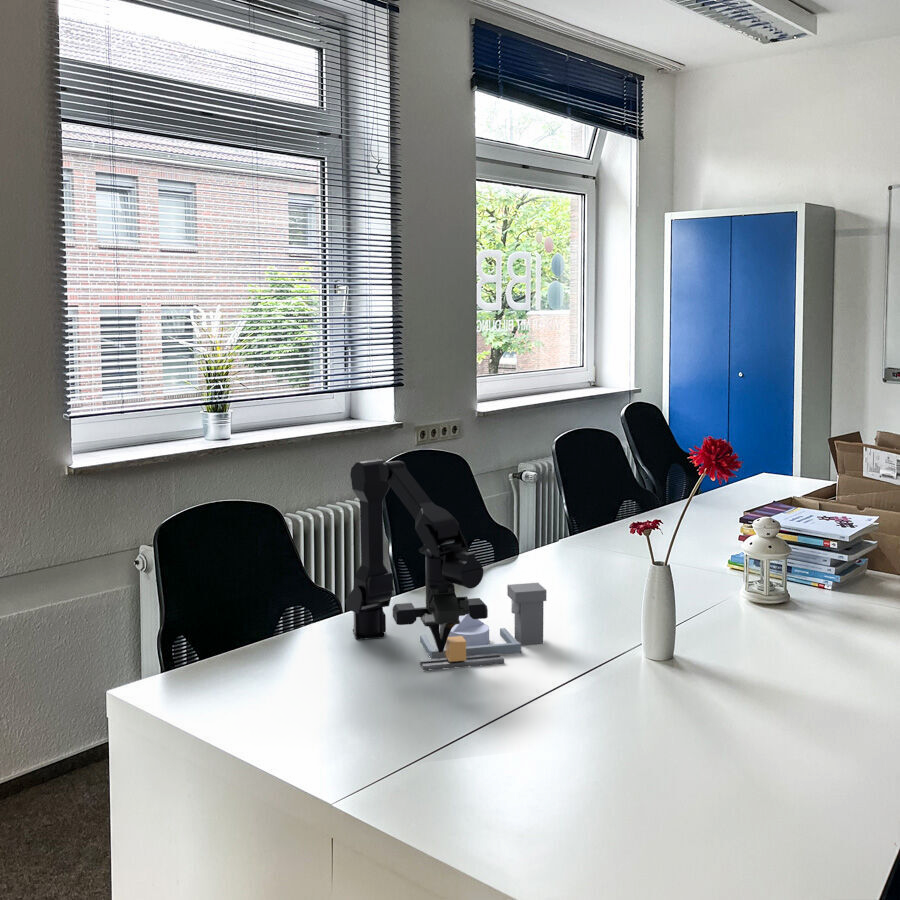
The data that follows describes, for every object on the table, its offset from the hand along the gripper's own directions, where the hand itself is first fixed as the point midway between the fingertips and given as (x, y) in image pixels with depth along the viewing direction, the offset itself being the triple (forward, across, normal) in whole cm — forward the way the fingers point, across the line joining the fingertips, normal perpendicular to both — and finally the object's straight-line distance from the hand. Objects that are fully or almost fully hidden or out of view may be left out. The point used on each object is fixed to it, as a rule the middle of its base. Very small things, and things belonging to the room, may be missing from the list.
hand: (440, 651), depth 203 cm
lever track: (+3, +4, 0) cm, 5 cm away
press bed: (+3, +12, +10) cm, 15 cm away
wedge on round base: (+3, +8, +14) cm, 17 cm away
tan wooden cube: (+3, +3, 0) cm, 4 cm away
